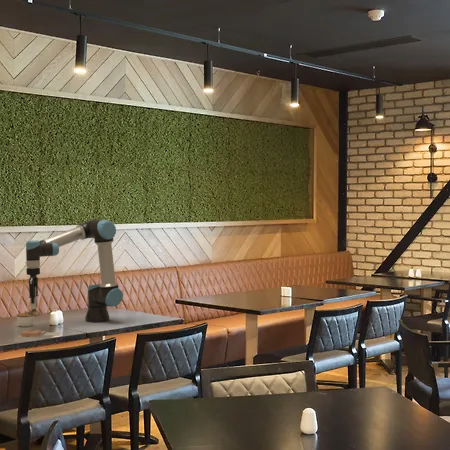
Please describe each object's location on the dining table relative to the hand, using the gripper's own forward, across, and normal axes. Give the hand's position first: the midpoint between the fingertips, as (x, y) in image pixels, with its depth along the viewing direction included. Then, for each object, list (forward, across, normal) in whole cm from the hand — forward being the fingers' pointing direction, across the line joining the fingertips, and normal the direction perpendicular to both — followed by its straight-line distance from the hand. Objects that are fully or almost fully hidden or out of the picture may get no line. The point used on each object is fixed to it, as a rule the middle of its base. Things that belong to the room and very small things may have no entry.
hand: (33, 308), depth 417 cm
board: (+15, +4, 0) cm, 15 cm away
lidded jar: (+15, -23, -10) cm, 29 cm away
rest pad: (+15, +4, +11) cm, 19 cm away
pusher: (+4, 0, 0) cm, 4 cm away
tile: (+13, 0, 0) cm, 13 cm away
